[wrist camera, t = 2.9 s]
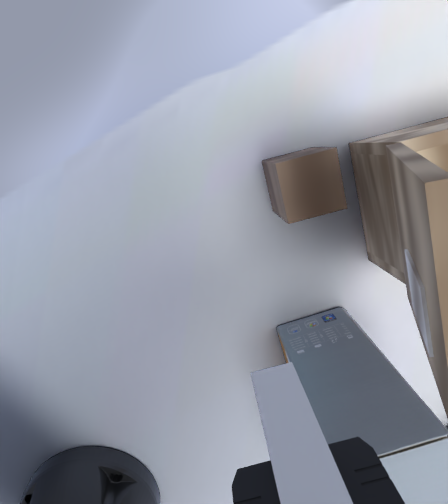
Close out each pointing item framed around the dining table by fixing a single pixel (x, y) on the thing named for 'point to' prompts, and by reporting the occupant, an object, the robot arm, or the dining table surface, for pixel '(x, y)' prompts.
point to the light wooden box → (380, 190)
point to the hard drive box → (368, 402)
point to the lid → (424, 250)
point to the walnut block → (305, 183)
